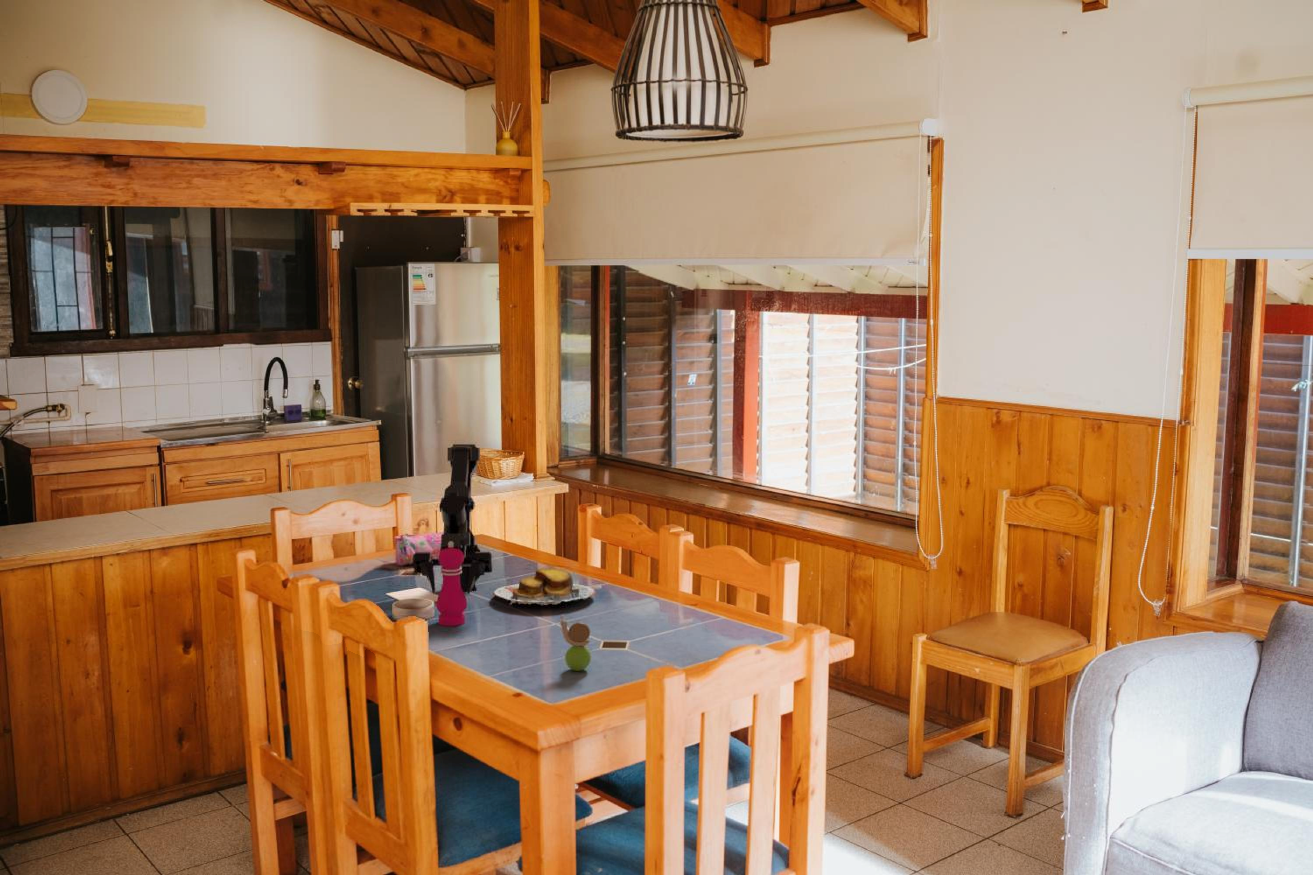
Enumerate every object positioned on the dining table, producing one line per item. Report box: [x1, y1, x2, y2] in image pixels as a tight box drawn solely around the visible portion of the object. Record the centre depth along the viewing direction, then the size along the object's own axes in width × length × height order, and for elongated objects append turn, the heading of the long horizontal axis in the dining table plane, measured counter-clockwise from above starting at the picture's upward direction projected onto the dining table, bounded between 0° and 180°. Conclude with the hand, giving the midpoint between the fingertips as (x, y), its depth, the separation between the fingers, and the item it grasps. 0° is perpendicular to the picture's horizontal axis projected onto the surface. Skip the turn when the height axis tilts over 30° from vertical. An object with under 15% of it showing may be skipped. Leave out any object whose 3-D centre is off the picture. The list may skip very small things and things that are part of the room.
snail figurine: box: [560, 614, 592, 672], centre depth 248 cm, size 5×6×12 cm
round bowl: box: [391, 599, 435, 621], centre depth 286 cm, size 10×10×3 cm
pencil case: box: [394, 532, 443, 566], centre depth 341 cm, size 21×9×9 cm, turn 123°
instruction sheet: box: [385, 587, 439, 603], centre depth 303 cm, size 10×14×1 cm
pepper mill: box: [435, 541, 468, 627], centre depth 280 cm, size 7×7×20 cm
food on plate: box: [492, 567, 596, 606], centre depth 302 cm, size 26×26×7 cm
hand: (451, 592), depth 279 cm, fingers open, 8 cm apart
